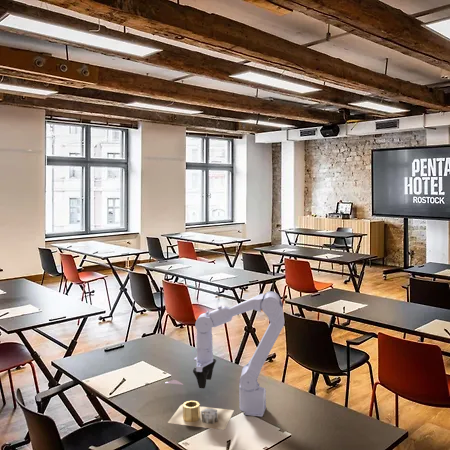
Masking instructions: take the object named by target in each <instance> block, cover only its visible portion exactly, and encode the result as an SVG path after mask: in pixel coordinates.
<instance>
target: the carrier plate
mask: <svg viewBox="0 0 450 450" xmlns="http://www.w3.org/2000/svg"><path fill="white" fill-rule="evenodd" d="M183 404H184V403H183ZM183 404H180V405H179V407H178V408H177V410H176V411H175V412H174V414H173V415H172V416H171V418H170V419H169V420H168V421H167V424H172V425H174V424H175V425H182V426H187V427H189V426H190V427H197V428H206V429H214V430H215V429H216V430H221V431H222V430H223V431H224V430H226V428H227V426H228V423H229V422H230V419H231V417H232V416H233V414H234V411H235V410H234V409H226V408H218V407H210V406H200V418H199V420H198V421H195V422H186V421H185V420H184V419H183ZM206 408H207V409H211V408H213V409H214V410H217V412H218V421H217V422H215V424H212V423H211V424H206V423H203V422H202V412H201V411H204V410H205V409H206Z"/></svg>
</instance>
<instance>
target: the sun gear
mask: <svg viewBox="0 0 450 450" xmlns="http://www.w3.org/2000/svg"><path fill="white" fill-rule="evenodd" d="M210 408H211V409H207V408H206V409H205V410H204V411H201V412H202V422H203V423H206V424H211V423H212V424H215V422H217V421H218V412H217V410H214V409H213V408H214V407H210Z"/></svg>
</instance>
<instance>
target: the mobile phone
mask: <svg viewBox="0 0 450 450" xmlns="http://www.w3.org/2000/svg"><path fill="white" fill-rule="evenodd" d="M164 383H165V384H172V385H185V384H183V383H182V382H180V381H179V380H176V379H172V380H169V381H166V382H165V381H164Z"/></svg>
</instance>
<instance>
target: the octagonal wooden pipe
mask: <svg viewBox="0 0 450 450" xmlns="http://www.w3.org/2000/svg"><path fill="white" fill-rule="evenodd" d="M200 405H201V404H200V402H199V401H197V400H187V401H185V402H183V419H184V420H185V421H186V422H195V421H198V420H199V418H200Z"/></svg>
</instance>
